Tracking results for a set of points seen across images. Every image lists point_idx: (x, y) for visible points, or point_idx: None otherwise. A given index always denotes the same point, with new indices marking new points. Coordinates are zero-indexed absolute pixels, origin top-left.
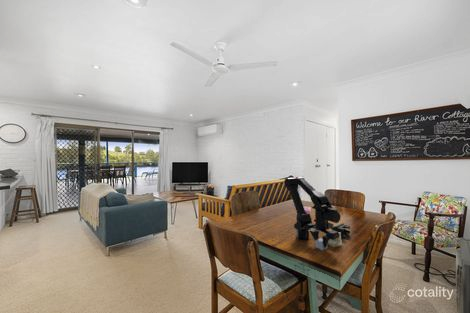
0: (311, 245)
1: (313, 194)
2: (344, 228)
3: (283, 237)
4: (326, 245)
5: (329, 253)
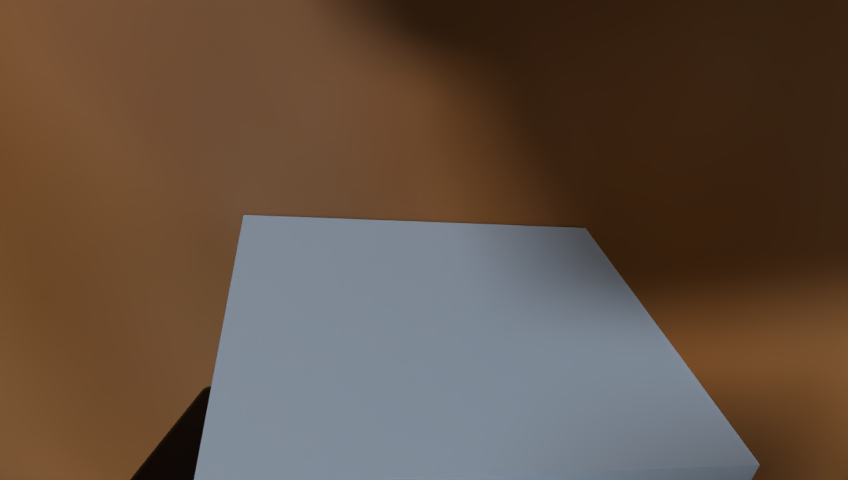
0: (76, 474)
1: None
2: None
3: None
4: None
5: None
